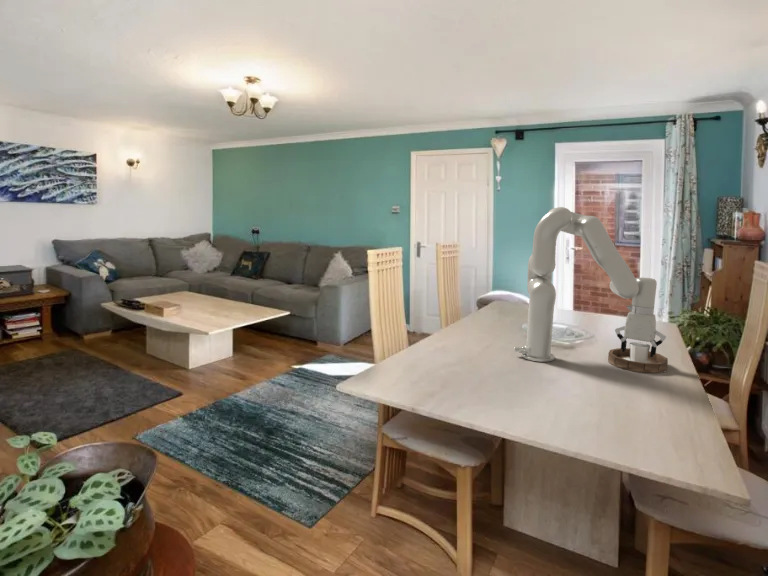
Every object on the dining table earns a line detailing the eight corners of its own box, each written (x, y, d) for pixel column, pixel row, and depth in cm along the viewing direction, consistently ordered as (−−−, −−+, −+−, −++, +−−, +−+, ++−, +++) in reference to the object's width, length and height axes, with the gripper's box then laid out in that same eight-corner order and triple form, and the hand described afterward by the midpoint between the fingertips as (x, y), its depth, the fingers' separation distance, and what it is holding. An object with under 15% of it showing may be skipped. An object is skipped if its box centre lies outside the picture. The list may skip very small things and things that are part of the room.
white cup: (651, 365, 173) (653, 347, 171) (631, 363, 174) (633, 346, 173) (644, 359, 179) (646, 342, 178) (625, 358, 180) (627, 341, 179)
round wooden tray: (623, 372, 167) (624, 363, 167) (599, 356, 187) (599, 347, 186) (678, 373, 167) (679, 364, 166) (648, 356, 187) (649, 348, 186)
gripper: (615, 308, 176) (611, 351, 179) (667, 315, 165) (662, 360, 168) (619, 305, 182) (615, 347, 185) (670, 311, 171) (665, 355, 174)
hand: (637, 353), depth 176 cm, fingers open, 9 cm apart
